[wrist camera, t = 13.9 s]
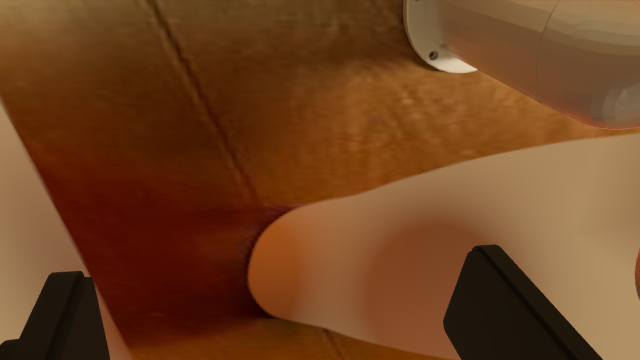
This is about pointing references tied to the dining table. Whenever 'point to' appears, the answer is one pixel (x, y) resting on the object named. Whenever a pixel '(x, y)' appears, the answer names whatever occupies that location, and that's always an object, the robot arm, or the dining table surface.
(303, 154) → the dining table surface
